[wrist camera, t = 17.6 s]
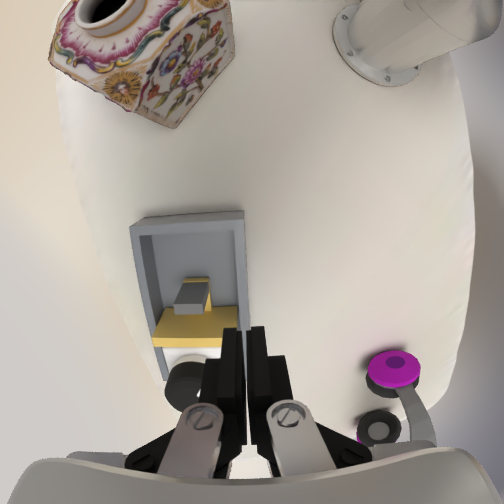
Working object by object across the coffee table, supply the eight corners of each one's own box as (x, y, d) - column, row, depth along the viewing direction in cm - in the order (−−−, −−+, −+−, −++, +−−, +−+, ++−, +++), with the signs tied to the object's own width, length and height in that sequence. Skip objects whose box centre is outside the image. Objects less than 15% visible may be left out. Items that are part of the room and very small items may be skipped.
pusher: (160, 279, 34) (143, 305, 27) (235, 276, 34) (233, 303, 27) (167, 315, 35) (153, 346, 29) (237, 314, 36) (236, 346, 29)
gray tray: (144, 217, 33) (129, 227, 28) (243, 210, 33) (243, 219, 28) (170, 358, 39) (163, 380, 35) (251, 357, 39) (252, 381, 35)
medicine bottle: (183, 358, 38) (167, 421, 27) (173, 315, 36) (149, 376, 24) (233, 356, 38) (231, 422, 27) (228, 313, 36) (222, 377, 24)
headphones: (359, 352, 40) (411, 453, 21) (408, 339, 40) (470, 424, 21) (349, 427, 46) (376, 508, 27) (389, 416, 46) (423, 490, 27)
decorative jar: (175, 132, 30) (102, 107, 13) (106, 87, 27) (11, 49, 10) (239, 54, 27) (235, -36, 10) (165, 14, 25) (115, -67, 8)
